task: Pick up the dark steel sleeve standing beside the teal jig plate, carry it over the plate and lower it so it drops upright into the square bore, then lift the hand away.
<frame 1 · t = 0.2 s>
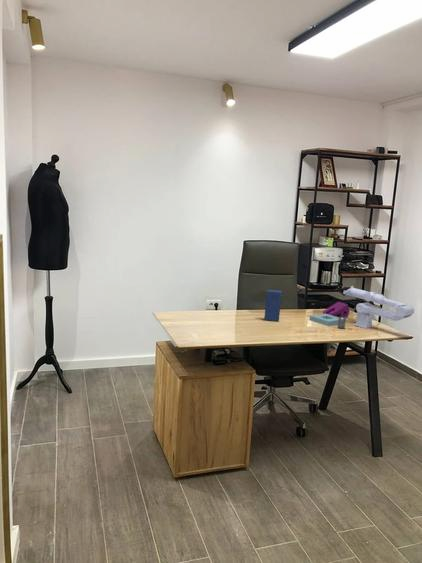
hand: (340, 289, 318), 21 cm above the table, tool horizontal, fingers open, 7 cm apart
purple faceted block: (334, 316, 329), on the table
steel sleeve: (341, 328, 297), on the table
jig plate: (326, 321, 311), on the table
electronic device: (271, 320, 305), on the table
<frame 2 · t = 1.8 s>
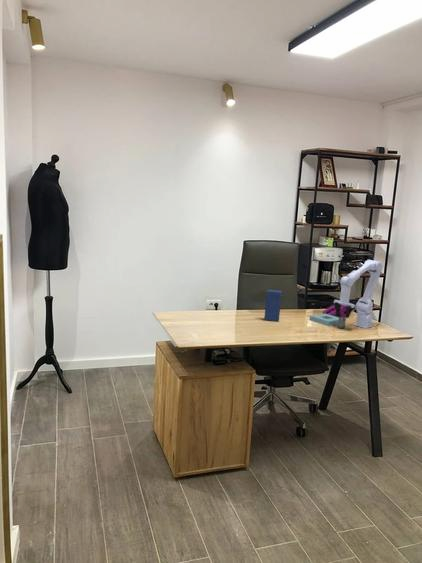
hand: (342, 316, 296), 8 cm above the table, tool pointing down, fingers open, 7 cm apart
nothing on the table moved.
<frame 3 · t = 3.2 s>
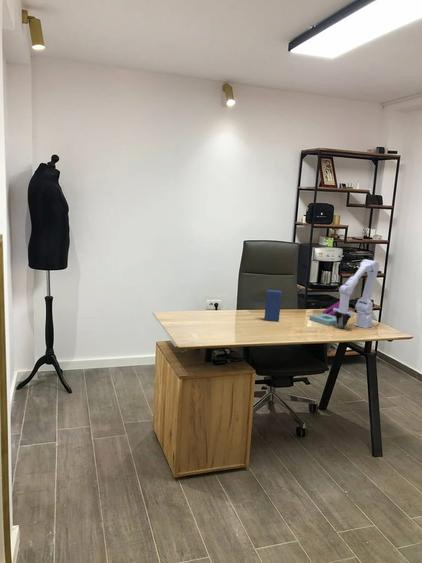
hand: (341, 324, 297), 2 cm above the table, tool pointing down, fingers closed on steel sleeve, 4 cm apart
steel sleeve: (341, 328, 297), on the table, touching gripper
everything else where it was.
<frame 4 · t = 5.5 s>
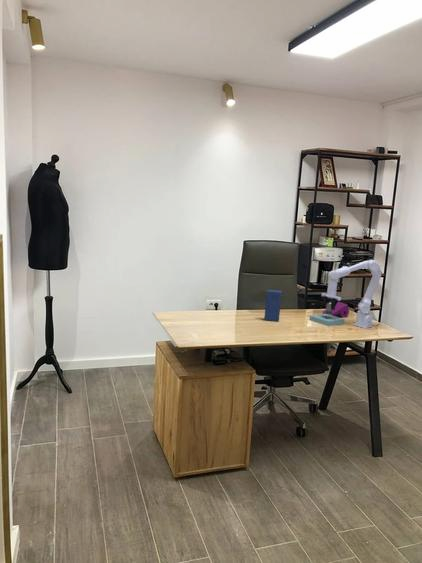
hand: (329, 308, 308), 9 cm above the table, tool pointing down, fingers closed on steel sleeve, 4 cm apart
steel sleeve: (329, 312, 308), point 7 cm above the table, touching gripper
everything else where it was.
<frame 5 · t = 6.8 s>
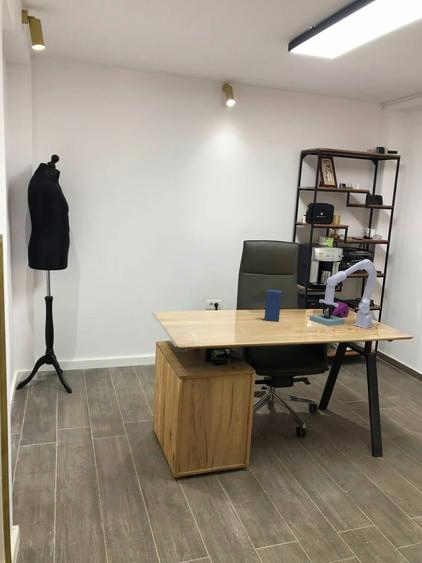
hand: (327, 315, 310), 5 cm above the table, tool pointing down, fingers closed on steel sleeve, 4 cm apart
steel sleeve: (326, 319, 311), point 2 cm above the table, touching gripper
everything else where it was.
when the fingers open (4 cm above the table, at t = 7.7 s): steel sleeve drops 2 cm, resting in jig plate.
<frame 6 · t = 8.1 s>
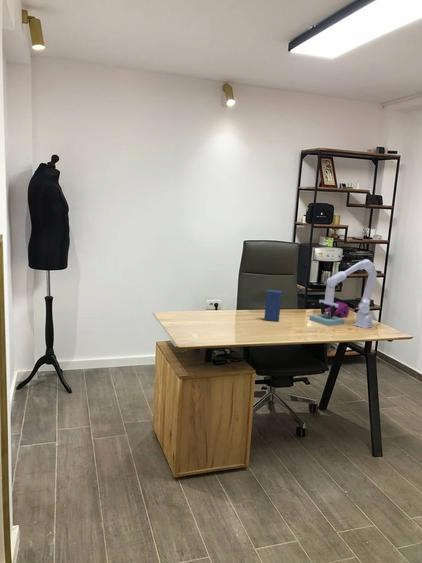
hand: (327, 315, 311), 4 cm above the table, tool pointing down, fingers open, 7 cm apart
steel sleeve: (326, 321, 311), resting in jig plate
everything else where it was.
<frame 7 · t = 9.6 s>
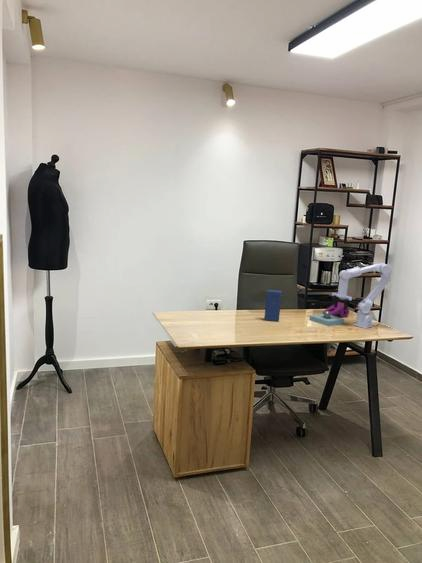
hand: (340, 308, 306), 10 cm above the table, tool pointing down, fingers open, 7 cm apart
nothing on the table moved.
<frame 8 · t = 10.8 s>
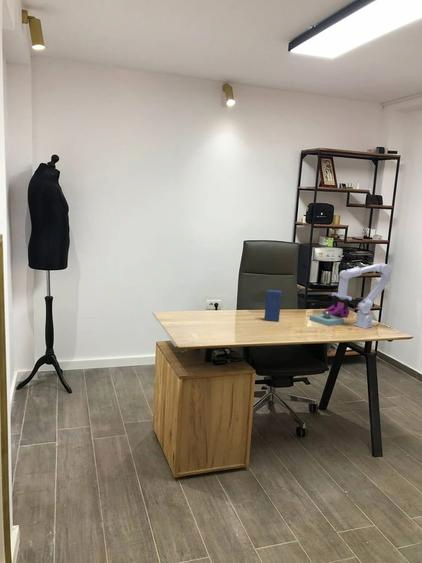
hand: (340, 308, 306), 10 cm above the table, tool pointing down, fingers open, 7 cm apart
nothing on the table moved.
at the end: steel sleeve 0.3 cm off-centre on the jig plate, point 0.0 cm above the jig plate's base; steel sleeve tilted 1°; the gripper is holding nothing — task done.
